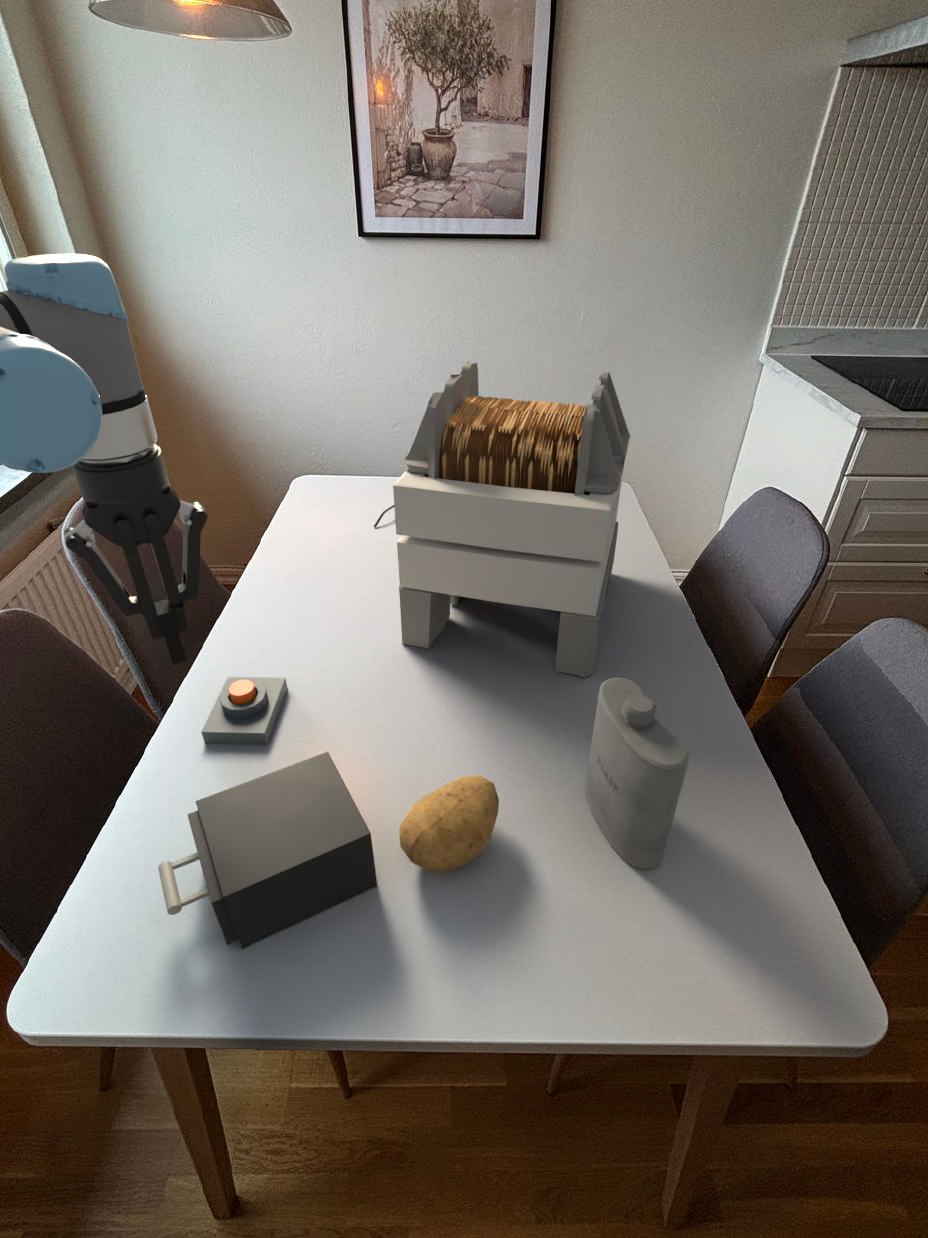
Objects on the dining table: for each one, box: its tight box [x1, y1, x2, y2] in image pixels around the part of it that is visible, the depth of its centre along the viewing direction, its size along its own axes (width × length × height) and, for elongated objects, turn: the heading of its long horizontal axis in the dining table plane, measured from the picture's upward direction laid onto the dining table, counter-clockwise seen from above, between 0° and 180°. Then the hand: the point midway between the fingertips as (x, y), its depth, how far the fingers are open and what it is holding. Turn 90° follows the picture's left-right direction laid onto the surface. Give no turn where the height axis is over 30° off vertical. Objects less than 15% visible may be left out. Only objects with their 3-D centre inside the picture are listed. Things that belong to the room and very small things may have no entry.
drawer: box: [157, 809, 239, 946], centre depth 76 cm, size 19×12×8 cm, turn 119°
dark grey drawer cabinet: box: [195, 751, 378, 950], centre depth 77 cm, size 16×14×10 cm
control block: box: [200, 676, 288, 745], centre depth 101 cm, size 12×9×4 cm
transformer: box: [392, 361, 631, 678], centre depth 113 cm, size 34×33×41 cm
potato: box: [398, 775, 500, 873], centre depth 81 cm, size 10×14×8 cm
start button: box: [229, 680, 256, 704], centre depth 99 cm, size 4×4×2 cm
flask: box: [584, 677, 690, 870], centre depth 80 cm, size 15×6×20 cm, turn 17°
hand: (177, 656), depth 75 cm, fingers closed
